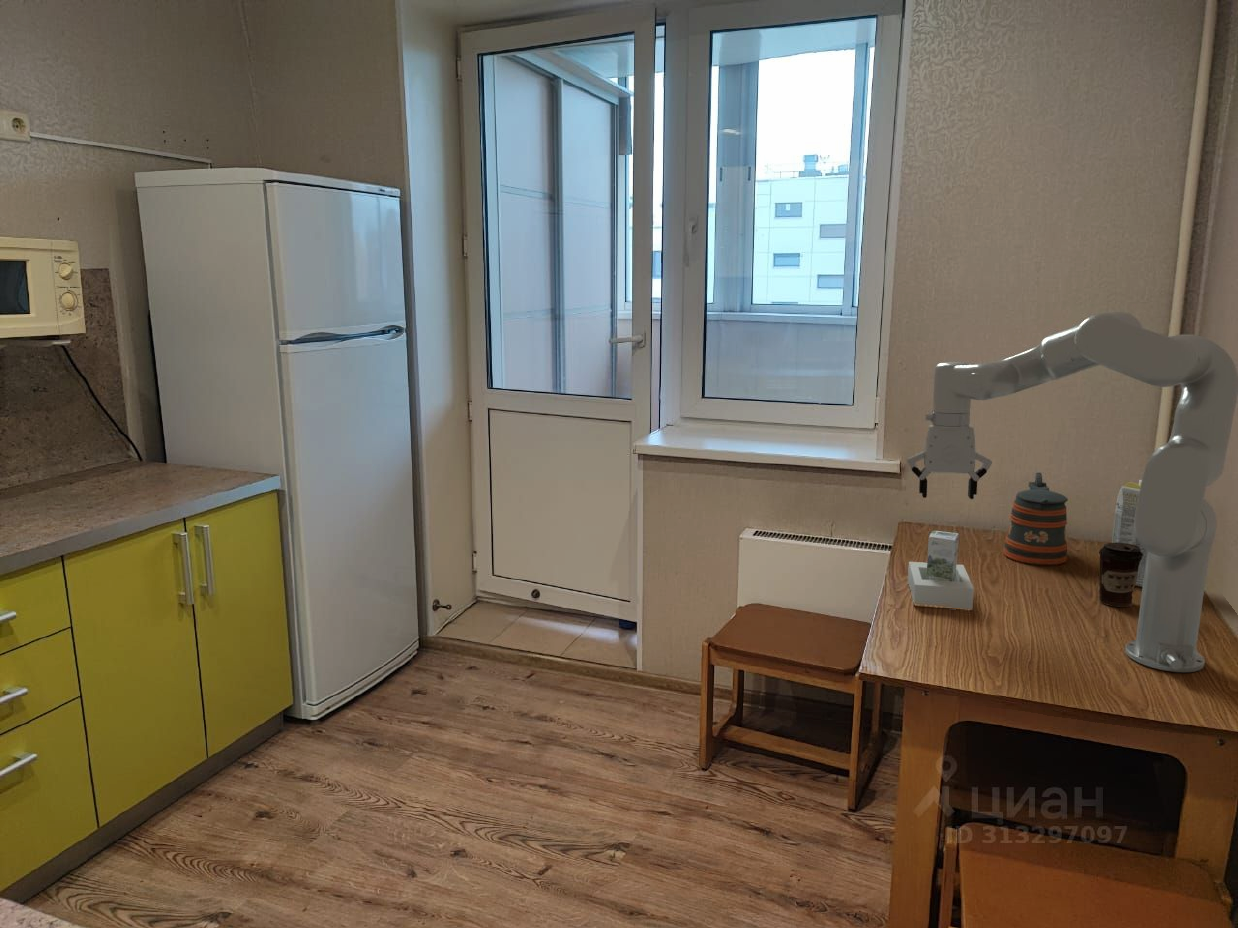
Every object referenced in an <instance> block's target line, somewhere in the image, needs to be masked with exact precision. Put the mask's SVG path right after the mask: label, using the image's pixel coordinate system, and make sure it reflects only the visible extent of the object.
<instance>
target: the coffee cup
mask: <svg viewBox="0 0 1238 928" xmlns="http://www.w3.org/2000/svg"><path fill="white" fill-rule="evenodd" d="M1098 554H1099V576H1098V578H1099V580H1098V581H1099V582H1098V583H1099V584H1098V586H1099V587H1098V588H1099V589H1098V593H1099V596H1098V597H1099V599H1098V600H1099V602H1100V603H1101V604H1104V605H1107V606H1112V607H1118V608H1126V607H1132V605H1133V592H1134V589H1135V586H1136V585H1135V584H1136V581H1137V575H1138V568H1139V564H1140V561H1141V559H1142V556H1143V554H1142V552H1141V551H1140V548H1139V547H1138V546H1136V545H1132V544H1128V543H1118V542H1116V543H1112V542H1108V543H1106V544H1103V547H1101V548H1100V549H1099V552H1098Z"/></svg>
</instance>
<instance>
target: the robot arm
mask: <svg viewBox="0 0 1238 928" xmlns="http://www.w3.org/2000/svg"><path fill="white" fill-rule="evenodd" d="M1097 366H1102V367H1104V368H1107V369H1109V370H1112V371H1114V372H1117V373H1119V374H1122V375H1124V376H1127V377H1129V378H1132V379H1135V380H1137V381H1140V382H1142V383H1145V384H1148V385H1151V386H1153V387H1154V386H1155V387H1160V388H1169V387H1175V386H1178V385H1180V386H1181V394H1180V397H1179V401H1178V403H1177V406H1176V409H1175V413H1174V419H1173V425H1172V429H1171V434H1170V438H1169V440H1168V442H1167V443H1165V444H1163V445H1160V446H1159V447H1158V448H1157V449H1155V450H1154V451H1153V452H1152V453H1151V455H1150V456H1149V458H1148V460H1147V461H1146V464H1145V467H1144V470H1143V474H1142V478H1141V480H1142V483H1141V488H1140V493H1139V498H1138V503H1137V508H1136V513H1135V519H1134V532H1135V536H1136V538H1137V540H1138V542H1139V544H1140V545H1141V546H1142V547H1143V548H1144V549H1145V550H1147V551H1148V553H1147V558H1146V564H1145V571H1144V579H1143V587H1142V588H1141V597H1140V606H1139V613H1138V621H1137V628H1136V630H1137V631H1136V639H1134V640H1131V641H1129V642H1127V643H1126V644H1125V649H1124V651H1125V654H1126V655H1127V656H1128V658H1130V659H1132V660H1133V661H1134V662H1137V663H1138V664H1141V665H1144V666H1145V667H1148V668H1153V669H1157V670H1161V671H1166V672H1172V673H1194V672H1197V671H1200V670H1203V669H1204V667H1205V662H1206V660H1205V659H1206V658H1204V656H1203V655H1202V654H1200V653H1199V652H1197V645H1198V640H1199V639H1198V637H1199V631H1200V623H1201V615H1202V607H1203V602H1204V594H1205V585H1206V583H1207V582H1206V581H1207V575H1208V567H1209V562H1210V556H1211V552H1212V549H1213V544H1214V541H1215V537H1216V533H1217V524H1218V523H1217V515H1216V512H1215V509H1214V508H1213V506H1212V504H1211V503H1210V502H1208V501H1207V500H1206V499H1205V498H1204V497H1205V494H1206V493H1205V492H1206V490H1207V489H1206V488H1208V487H1209V486H1212V485H1213V484H1214V483H1215V482H1217V481H1218V480H1219V478H1221V476H1222V474H1223V471H1224V468H1225V462H1226V456H1227V450H1228V445H1229V441H1230V436H1231V432H1232V427H1233V420H1234V416H1235V411H1236V405H1237V400H1238V370H1237V367H1236V364H1235V363H1234V360H1233V358H1232V357H1231V355H1230V354H1229V353H1228V352H1227V351H1226V350H1225V349H1224V348H1223V347H1222V346H1220V345H1219V344H1217V342H1215V341H1213V340H1211V339H1208V338H1207V337H1204V336H1201V335H1197V334H1190V333H1188V334H1187V333H1186V334H1177V335H1171V336H1167V335H1164V334H1160V333H1158V332H1155V331H1151V330H1149V329H1146V328H1143V325H1142V323H1141V322H1140V321H1139V319H1138V318H1137V317H1136V316H1134V314H1131V313H1129V312H1123V311H1113V312H1112V311H1111V312H1100V313H1097V314H1093V315H1090V316H1089V317H1087V318H1086V319H1085V320H1083V321H1082V322H1081V323H1080V324H1078V325H1076V326H1072V327H1071V328H1068V329H1065V330H1061V331H1059V332H1055V333H1053V334H1050V335H1047V336H1046V337H1045V338H1043V339H1042V340H1041V341H1040V343H1039V344H1038V345H1037V346H1035V347H1033V348H1031V349H1029V350H1026V351H1023V352H1021V353H1018V354H1016V355H1014V356H1013V355H1012V356H1010V357H1007V358H1005V359H1001V360H996V361H989V362H985V363H984V362H983V363H977V364H970V363H967V362H963V361H945V362H940V363H938V364H937V365H936V366H935V368H934V374H933V375H934V376H933V379H934V381H933V397H932V398H933V402H932V403H933V404H932V412H931V413H929V414H925V421H928V422H931V424H930V425H928V428H927V433H926V439H925V447H924V451H921V452H919V453H917V454H913V455H912V456H910V457H908V458H907V459H906V460H907V463H908V465H909V467H910V469H911V471H912V473H913V474H915V475H916V476H917V478H918V479H919V482H918V484H919V489H918V493H919V494H921V496H922V498H923V499H926V498H927V497H928V496H927V495H928V479H927V478H928V476H929V475H930V474H931V473H935V474H968V475H969V477H970V478H969V479H968V488H967V489H968V491H967V496H968V498H969V499H970V500H974V499H975V496H976V495H977V492H978V481H979V480H980V479H981V478H982V477H983V476H985V475H986V473H988V470H989V469H990V467H991V466H992V464H993V461H992V460H991V459H990V458H988V457H986V456H984V455H982V454H980V453H978V452H976V439H975V438H976V435H975V430H974V426H973V425H971V424H970V423H971V421H970V420H971V419H970V418H971V402H972V401H971V400H975V401H987V400H992V399H993V400H994V399H996V398H997V399H998V398H1002V397H1005V396H1009V395H1012V394H1013V395H1014V394H1015V393H1018V392H1021V391H1024V390H1027V389H1031V388H1034V387H1037V386H1040V385H1043V384H1046V383H1048V382H1050V381H1057V380H1060V379H1063V378H1066V377H1068V376H1071V375H1074V374H1077V373H1080V372H1083V371H1085V370H1089V369H1091V368H1095V367H1097ZM921 460H923V464H924V467H923V468H922V469H921V470H920V469H919V468H918V466H917V465H916V462H919V461H921ZM976 461H979V462H981V463H982V465H981V467H980V468H979V469H978V470H976V471H975V469H976ZM974 495H975V496H974Z"/></svg>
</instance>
